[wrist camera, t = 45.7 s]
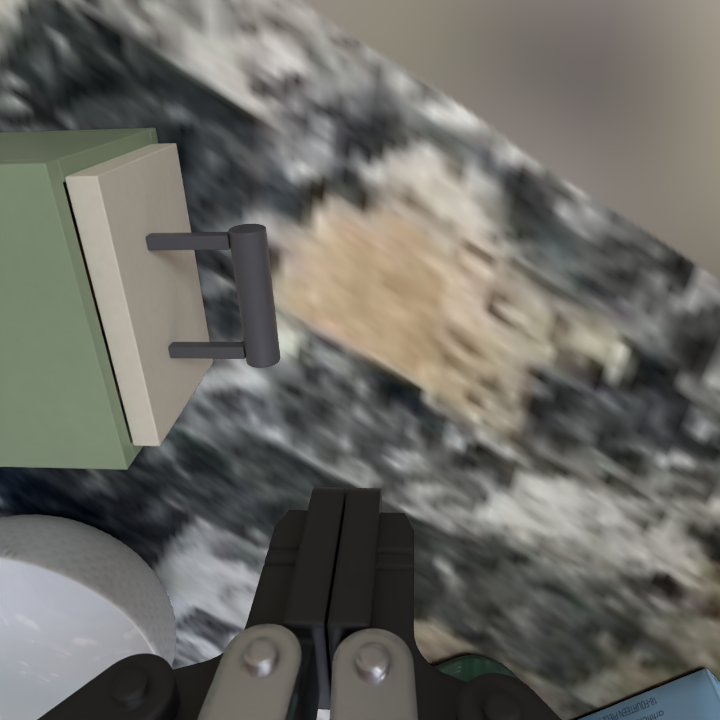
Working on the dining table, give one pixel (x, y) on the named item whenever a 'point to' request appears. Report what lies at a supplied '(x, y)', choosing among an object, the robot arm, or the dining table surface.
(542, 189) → the dining table surface
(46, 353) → the cabinet
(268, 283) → the drawer
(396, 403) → the dining table surface
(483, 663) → the coffee jar
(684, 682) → the gum box
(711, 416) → the dining table surface
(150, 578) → the cereal bowl
